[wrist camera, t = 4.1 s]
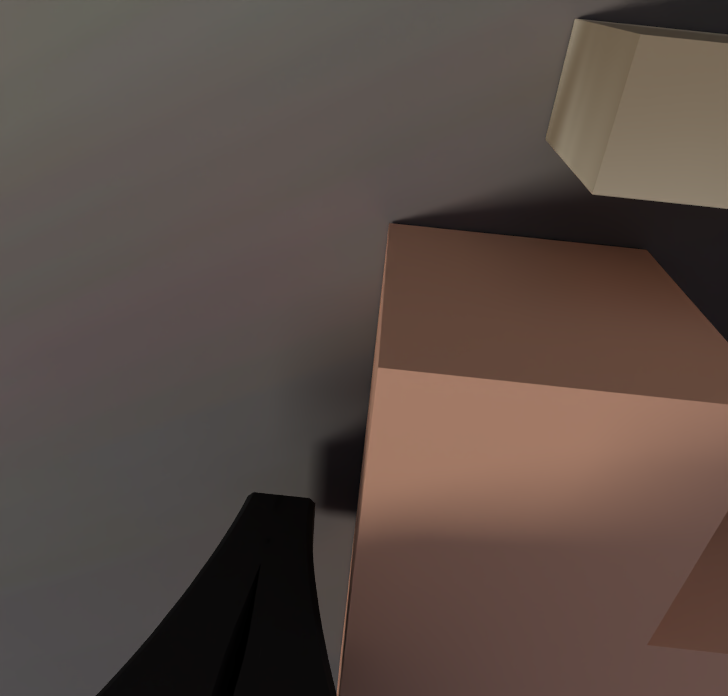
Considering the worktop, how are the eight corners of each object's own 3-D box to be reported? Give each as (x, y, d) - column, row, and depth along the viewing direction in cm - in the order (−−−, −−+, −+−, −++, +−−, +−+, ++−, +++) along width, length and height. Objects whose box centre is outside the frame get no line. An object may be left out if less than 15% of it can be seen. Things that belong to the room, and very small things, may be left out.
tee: (793, 705, 15) (902, 908, 12) (340, 655, 16) (321, 843, 12) (1167, 303, 9) (1623, 499, 6) (389, 223, 9) (378, 367, 6)
